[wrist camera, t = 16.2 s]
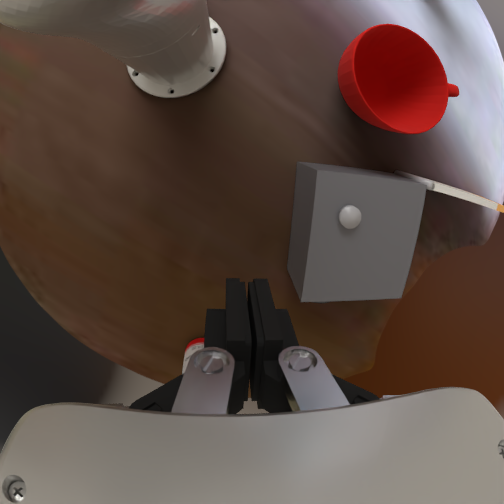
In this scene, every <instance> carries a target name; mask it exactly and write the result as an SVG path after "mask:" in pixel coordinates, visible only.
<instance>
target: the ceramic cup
mask: <svg viewBox="0 0 504 504" xmlns="http://www.w3.org/2000/svg"><path fill="white" fill-rule="evenodd" d="M338 83H339V88H340V91H341V93H342V96H343V98H344V100H345V101H346V103H347V105H348V106H349V107H350V108H351V110H352V111H353V112H354V113H355V114H357V115H358V116H359V117H360V118H361V119H363V120H364V121H366V122H368V123H369V124H371V125H373V126H376V127H379V128H381V129H384V130H387V131H392V132H397V133H403V134H419V133H422V132H426V131H428V130H429V129H431V128H433V127H434V126H435V125H436V124H437V123H438V122H439V121H440V120H441V118H442V116H443V114H444V112H445V109H446V106H447V102H448V97H457V96H458V95H459V89H458V87H457V86H456V85H453V84H449V83H448V82H447V77H446V73H445V71H444V68H443V65H442V63H441V61H440V59H439V57H438V56H437V54H436V53H435V51H434V50H433V48H432V47H431V46H430V45H429V44H428V43H427V42H426V41H425V40H424V39H423V38H422V37H420V36H419V35H418V34H416V33H415V32H413V31H411V30H409V29H407V28H405V27H402V26H399V25H393V24H381V25H376V26H374V27H371V28H369V29H367V30H366V31H364V32H363V33H361V34H360V35H359V36H357V37H356V38H355V39H354V40H353V41H352V42H351V43H350V45H349V46H348V47H347V48H346V50H345V51H344V53H343V55H342V57H341V60H340V62H339V67H338Z"/></svg>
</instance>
